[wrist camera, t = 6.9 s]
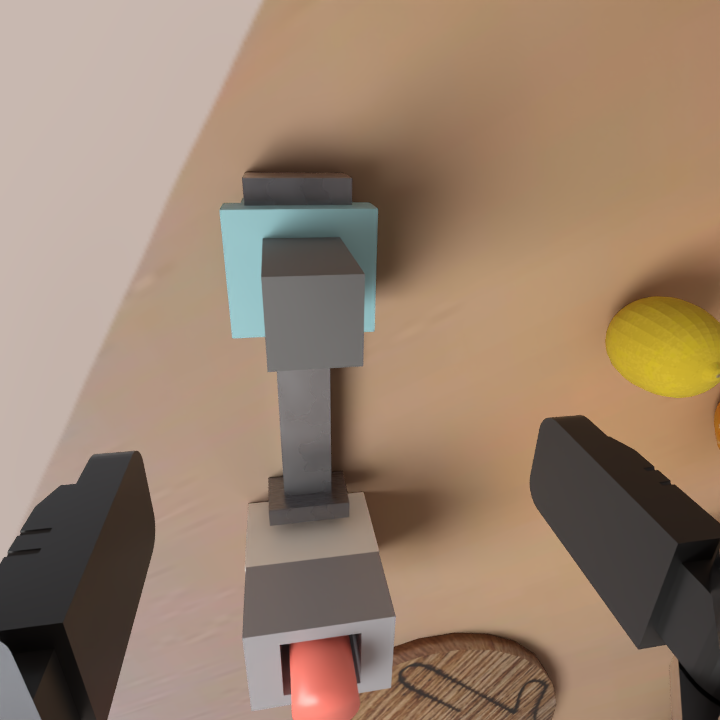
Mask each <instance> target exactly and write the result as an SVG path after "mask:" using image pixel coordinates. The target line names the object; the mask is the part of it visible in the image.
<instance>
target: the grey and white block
mask: <svg viewBox="0 0 720 720" xmlns="http://www.w3.org/2000/svg"><path fill="white" fill-rule="evenodd" d="M348 498H349V517H347V518H338V519H329V520H320V521H310V522H301V523H292V524H283V525H274V526H270V521H269V502H260V503H250V504H248V515H247V535H246V555H245V594H244V614H243V635H242V640H243V648H244V655H245V663H246V671H247V679H248V687H249V695H250V703H251V711H256V710H262V709H268V708H274V707H279V706H285V705H291V704H292V700H291V677H290V654H289V644H290V643H297V642H303V641H310V640H317V639H324V638H331V637H337V636H344V635H349V637H350V643H351V650H352V656H353V662H354V668H355V674H356V680H357V686H358V693H363V692H369V691H375V690H381V689H387V688H391V680H392V664H393V649H394V634H395V619H396V616H395V612H394V608H393V604H392V601H391V597H390V593H389V589H388V585H387V582H386V578H385V574H384V570H383V567H382V563H381V559H380V555H379V548H378V545H377V541H376V537H375V533H374V530H373V526H372V522H371V518H370V515H369V511H368V507H367V503H366V500H365V496H364V492H359V493H349V494H348Z"/></svg>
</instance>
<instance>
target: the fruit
mask: <svg viewBox="0 0 720 720" xmlns="http://www.w3.org/2000/svg"><path fill="white" fill-rule="evenodd" d="M714 427H715V436H716V441H717V445H718V447H719V449H720V402H719V404H718V406H717V408H716V411H715V416H714Z"/></svg>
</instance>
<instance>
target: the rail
mask: <svg viewBox="0 0 720 720" xmlns="http://www.w3.org/2000/svg"><path fill="white" fill-rule="evenodd" d="M242 183H243V195H244V206H263V205H352V178H351V177H349V176H348V175H346V174H344V173H297V172H245V173H244V175H243V177H242ZM277 381H278V397H279V414H280V430H281V446H282V462H283V477H273V478H269V521H270V526H274V525H283V524H292V523H301V522H310V521H320V520H329V519H338V518H347V517H349V498H348V494H347V489H346V485H345V480H344V476H343V471H338V472H331V409H330V368H325V369H308V370H291V371H277Z"/></svg>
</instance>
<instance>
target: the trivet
mask: <svg viewBox="0 0 720 720" xmlns="http://www.w3.org/2000/svg"><path fill="white" fill-rule="evenodd" d="M359 699H360V707H359V710H358V712H357V713H356V715H355V716H354V717H353V718H352V719H351V720H552V718H553V714H554V711H555V707H556V700H555V693H554V686H553V684H552V682H551V680H550V678H549V676H548V674H547V672H546V670H545V669H544V667H543V666H542V664H541V663H540V661H539V660H538V659H537V657H536V656H535V654H534V653H532V652H531V651H529V650H528V649H526V648H525V647H523V646H521V645H520V644H518V643H517V642H515V641H512V640H509V639H505V638H501V637H497V636H494V635H490V634H477V633H450V634H444V635H438V636H432V637H425V638H419V639H416V640H413V641H410V642H407V643H404V644H401V645H398V646H395V647H394V649H393V664H392V680H391V688H387V689H381V690H375V691H369V692H363V693H359Z"/></svg>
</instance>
